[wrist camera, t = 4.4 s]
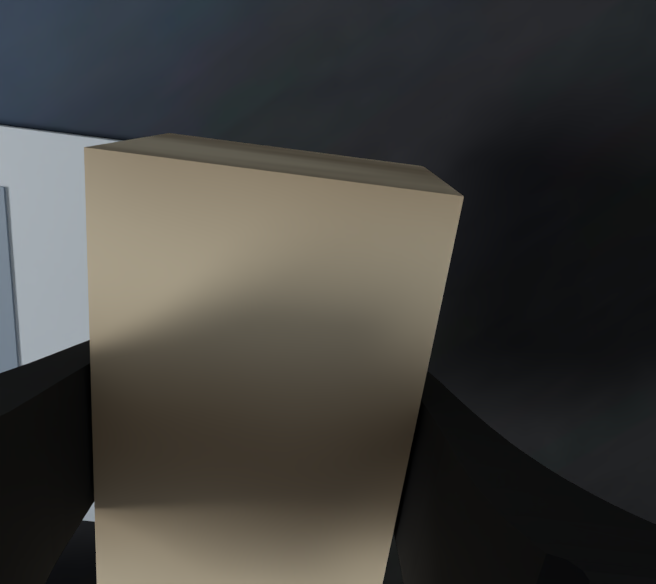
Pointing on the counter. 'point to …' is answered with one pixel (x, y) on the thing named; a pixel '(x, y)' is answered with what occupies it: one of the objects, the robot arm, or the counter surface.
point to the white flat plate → (42, 245)
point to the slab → (256, 356)
